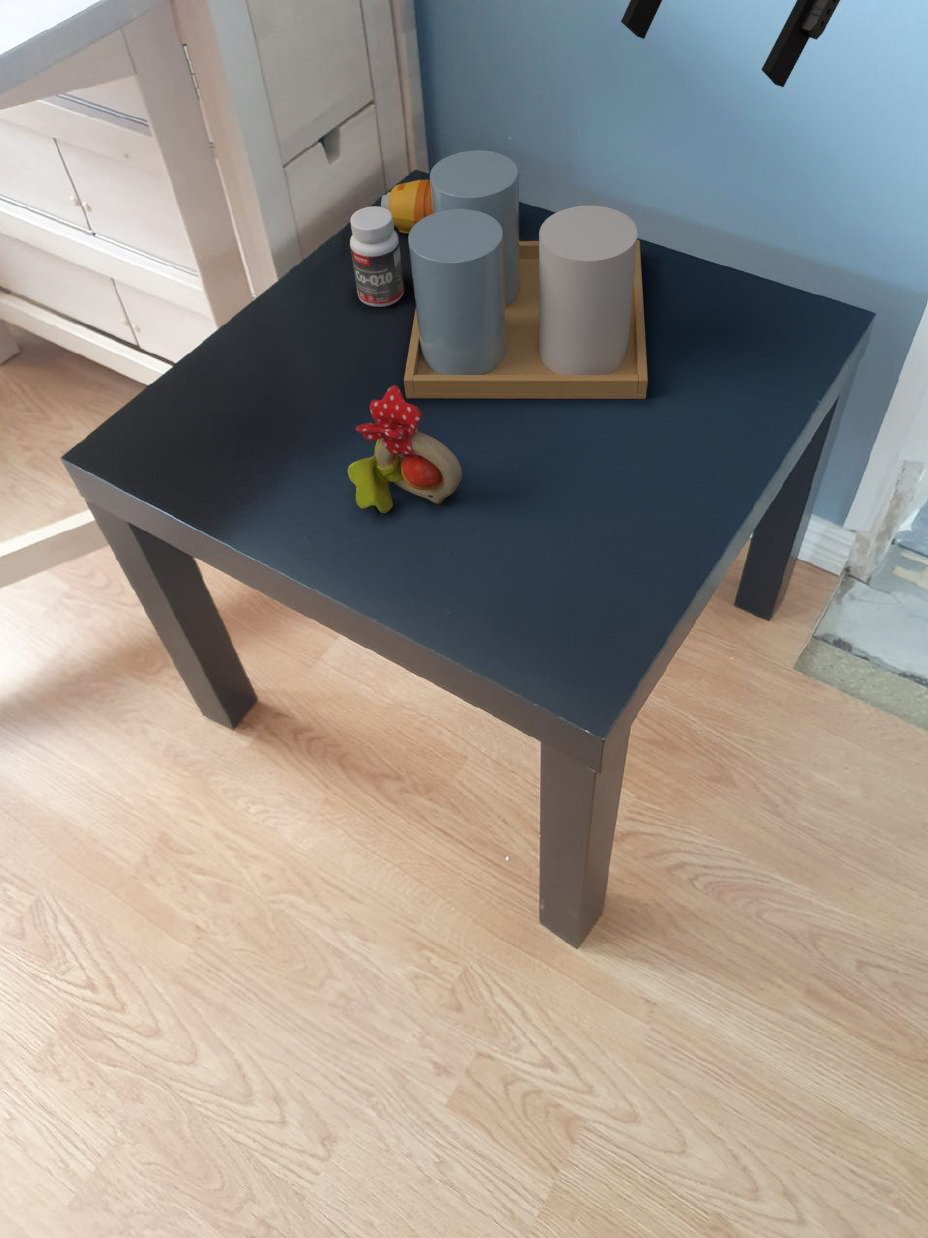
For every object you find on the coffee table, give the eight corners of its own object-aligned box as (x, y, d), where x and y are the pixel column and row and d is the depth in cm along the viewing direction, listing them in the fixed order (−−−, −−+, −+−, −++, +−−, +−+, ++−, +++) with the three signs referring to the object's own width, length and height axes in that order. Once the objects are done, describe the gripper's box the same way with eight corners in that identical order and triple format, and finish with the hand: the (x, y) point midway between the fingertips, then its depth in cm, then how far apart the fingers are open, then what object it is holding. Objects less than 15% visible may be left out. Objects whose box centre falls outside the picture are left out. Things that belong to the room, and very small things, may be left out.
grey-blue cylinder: (521, 264, 101) (520, 148, 92) (518, 312, 96) (516, 196, 87) (443, 265, 102) (433, 150, 92) (436, 313, 97) (425, 197, 87)
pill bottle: (354, 307, 99) (340, 231, 93) (363, 279, 102) (350, 203, 95) (400, 309, 99) (390, 232, 92) (408, 280, 102) (399, 204, 95)
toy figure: (380, 243, 106) (491, 248, 104) (372, 194, 102) (488, 199, 100) (392, 215, 109) (499, 219, 107) (385, 167, 105) (497, 170, 103)
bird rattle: (450, 490, 86) (354, 444, 85) (496, 408, 77) (389, 356, 76) (428, 543, 83) (328, 497, 82) (473, 464, 74) (362, 410, 72)
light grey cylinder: (640, 335, 93) (652, 217, 84) (607, 387, 89) (615, 269, 79) (560, 314, 96) (563, 197, 86) (524, 364, 92) (523, 247, 82)
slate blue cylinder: (504, 322, 96) (501, 205, 86) (508, 376, 91) (504, 259, 81) (421, 326, 96) (409, 211, 86) (420, 381, 91) (407, 265, 81)
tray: (637, 257, 102) (639, 239, 100) (645, 399, 89) (647, 380, 87) (428, 260, 104) (426, 241, 102) (406, 398, 91) (403, 380, 89)
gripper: (1037, -207, 65) (854, 120, 73) (732, -252, 78) (603, 32, 85) (1018, -286, 59) (821, 79, 67) (691, -321, 72) (556, -9, 79)
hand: (699, 53), depth 76 cm, fingers open, 13 cm apart
